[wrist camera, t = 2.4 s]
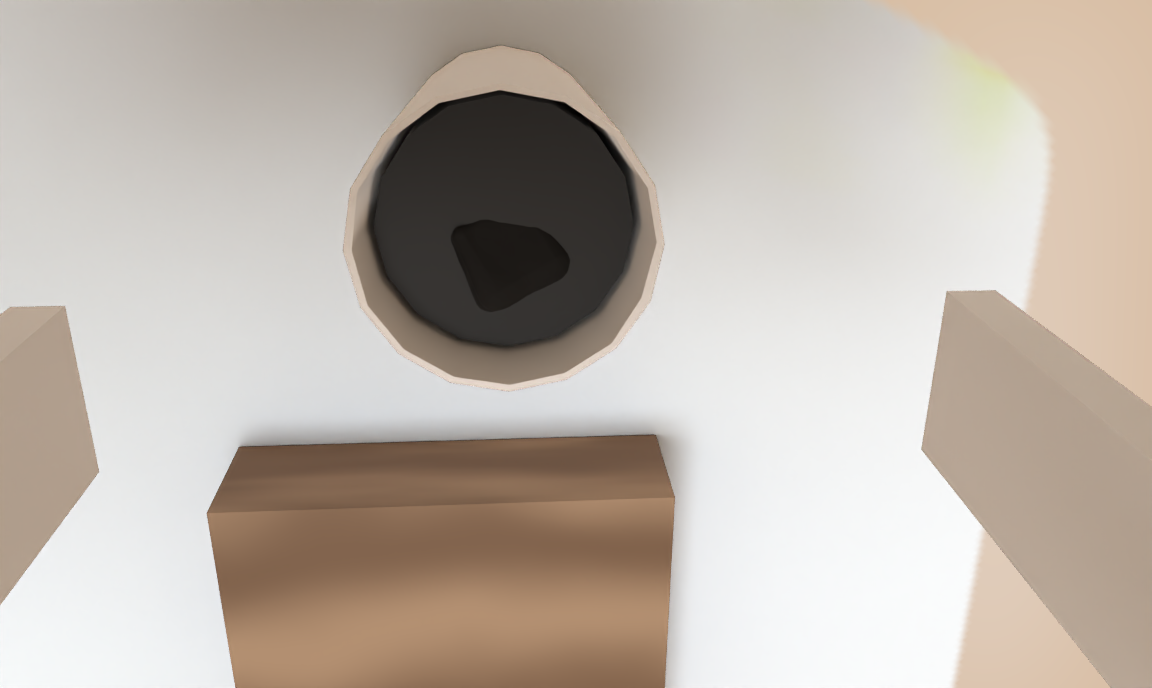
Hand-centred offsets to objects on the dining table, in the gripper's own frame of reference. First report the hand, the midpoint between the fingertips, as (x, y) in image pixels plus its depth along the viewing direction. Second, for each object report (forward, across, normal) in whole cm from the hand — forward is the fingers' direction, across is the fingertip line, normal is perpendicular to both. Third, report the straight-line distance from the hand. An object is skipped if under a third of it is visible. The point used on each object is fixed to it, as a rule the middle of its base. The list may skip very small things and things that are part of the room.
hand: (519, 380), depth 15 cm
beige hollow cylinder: (+16, 0, 0) cm, 16 cm away
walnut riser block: (+16, -2, -18) cm, 24 cm away
